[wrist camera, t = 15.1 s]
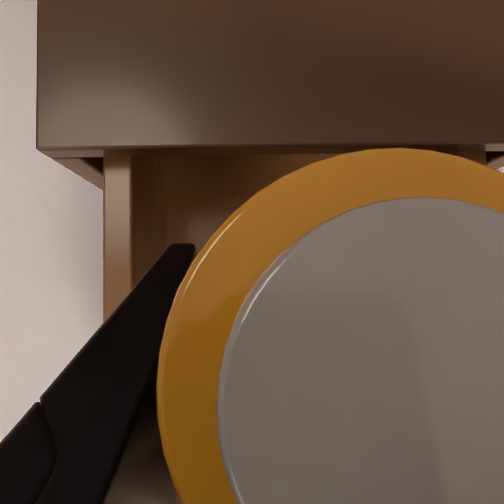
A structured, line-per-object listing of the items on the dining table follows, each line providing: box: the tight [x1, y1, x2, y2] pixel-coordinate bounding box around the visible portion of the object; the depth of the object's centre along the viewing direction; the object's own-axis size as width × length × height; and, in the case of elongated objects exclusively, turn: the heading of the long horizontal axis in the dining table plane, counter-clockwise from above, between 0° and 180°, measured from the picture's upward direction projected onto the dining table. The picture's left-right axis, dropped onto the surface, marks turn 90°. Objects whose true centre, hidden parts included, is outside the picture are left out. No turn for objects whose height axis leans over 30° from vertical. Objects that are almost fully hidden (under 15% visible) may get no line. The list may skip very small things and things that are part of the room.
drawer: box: [103, 151, 486, 504], centre depth 15 cm, size 18×12×6 cm, turn 1°
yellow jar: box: [156, 148, 504, 504], centre depth 7 cm, size 5×5×7 cm
